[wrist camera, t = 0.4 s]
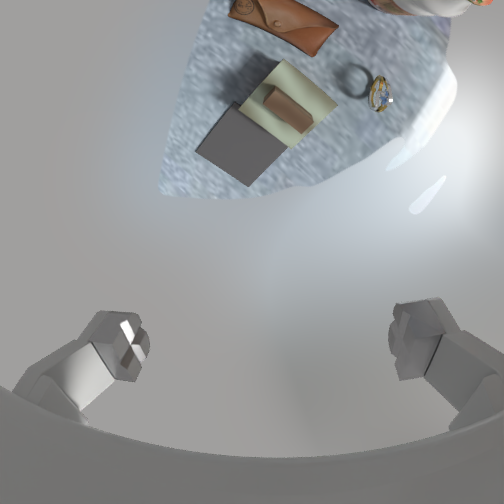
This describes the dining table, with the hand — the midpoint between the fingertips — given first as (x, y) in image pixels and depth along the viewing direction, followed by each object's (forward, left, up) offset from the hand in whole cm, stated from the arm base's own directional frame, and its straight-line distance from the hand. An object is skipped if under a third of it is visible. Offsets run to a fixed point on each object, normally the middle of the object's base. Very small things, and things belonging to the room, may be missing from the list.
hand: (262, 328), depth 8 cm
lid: (+4, +6, -44) cm, 45 cm away
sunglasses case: (-8, -5, -50) cm, 51 cm away
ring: (-9, +16, -50) cm, 53 cm away
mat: (+18, +6, -49) cm, 53 cm away
